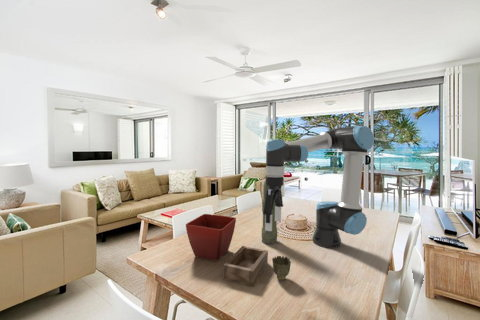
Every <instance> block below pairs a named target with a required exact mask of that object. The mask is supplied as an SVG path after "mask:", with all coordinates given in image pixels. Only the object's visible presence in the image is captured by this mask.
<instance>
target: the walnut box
mask: <svg viewBox="0 0 480 320" xmlns="http://www.w3.org/2000/svg"><path fill="white" fill-rule="evenodd" d="M268 252H269V251H268V250H267V249H260V248H256V247H250V246H246V245H242V246H241V247H239V248H238V250H237V251H236V252H235V253H234V254H233V255H232V256H230V258H228V260H227V261H225V263H224V264H223V280H225V281H229V282H233V283H237V284H240V285H245V286H248V287H254V285H255V284H256V282H257V281H258V280H259V278H260V276H261V275H262V273H263V272H264V269H265V268H266V267H267V265H268V264H269V263H268V262H269V261H268V260H269V259H268V254H269V253H268Z"/></svg>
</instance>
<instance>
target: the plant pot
mask: <svg viewBox="0 0 480 320" xmlns="http://www.w3.org/2000/svg"><path fill="white" fill-rule="evenodd" d="M236 221H237V218H236V217H233V216H225V215H219V214H218V215H217V214H209V213H203V214H201V215H199V216H198V217H196V218H194V219H193V220H190V221H189V222H187V223H185V229H186V234H187V238H188V241H189V244H190V247H191V250H192V252H193V254H194V256H195V258H200V259H206V260H210V261H214V262H215V261H216V262H217V261H220V259H222V257H223V256H224V255H225V254H226V253H227V252H228V251H229V250H230V246H231V243H232V240H233V235H234V233H235V226H236Z"/></svg>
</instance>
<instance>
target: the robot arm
mask: <svg viewBox="0 0 480 320" xmlns="http://www.w3.org/2000/svg"><path fill="white" fill-rule="evenodd" d="M374 144H375V136H374V132H373V131H372V129H371V128H370V127H368V126H366V125H352V126H342V127H336V128H333V129H330V130H327V131H323V132H320V133H319V134H318V135H313V136H309V137H305V138H302V139H300V138H299V139H297V140H292V141H288V142H287V141H286V142H285V140H284V139H268V140H267V141H266V146H265V147H266V149H265V151H266V152H265V153H266V154H265V156H266V157H265V167H264V170H265V175H266V177H265V181H266V185H267V186H270V188H269V189H267V192H266V200H265V206H264V212H262V215H263V214H265V230H267V231H272V215H271V214H272V210H273V205H274V201H275V204H276V206H277V207H276V206H275V221H277V222H278V223H279V222H282V208H283V207H284V203H283V195H282V193H283V192H282V187H283V186H284V182H285V181H284V180H285V179H284V175H285V163H300V162H305V161H306V160H307V159H308V158H309V153H311V152H315V151H318V150H319V151H320V150H329V149H330V150H333V149H339V150H340V149H341V152H342V154H343V155H344V161H343V170H342V171H343V172H342V184H341V193H340V202H338V201H327V200H326V201H319V202H318V203H316V204H317V205H316V208H315V210H316V214H315V217H316V218H315V230H314V232H313V234H312V242H313V243H314V244H316V245H317V246H320V247H322V248H332V249H333V248H339V247H341V245H342V239H341V236H340V233H339V231H342V232H343V233H346V234H350V235H354V236H356V235H359V234H361V233H362V232H363V231H364V229H365V228H366V226H367V219H368V218H367V217H366V214H365V213H364V212H363V206H362V205H360V199H361V198H360V197H361V188H362V177H363V167H364V166H363V165H364V157H365V156H367V155H368V151H369V150H370V149H372V148H373V146H374Z"/></svg>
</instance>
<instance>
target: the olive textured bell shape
mask: <svg viewBox="0 0 480 320" xmlns="http://www.w3.org/2000/svg"><path fill="white" fill-rule="evenodd" d="M291 263H292V261H291V259H290V258H288V257H287V256H285V257H284V255H279V256H278V255H276V256H274V257H272V269H273V273H274V274H275V275H276V279H277V280H279V281H285V280H286V278H287V276H288V275H289V274H290V270H291Z"/></svg>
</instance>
